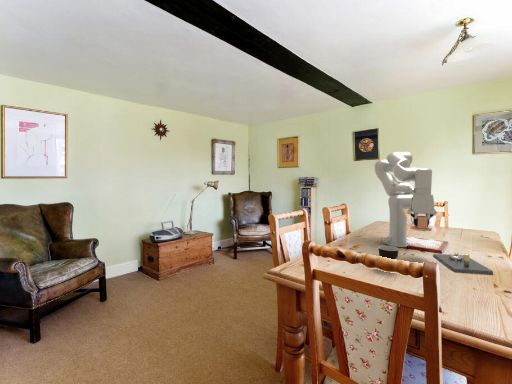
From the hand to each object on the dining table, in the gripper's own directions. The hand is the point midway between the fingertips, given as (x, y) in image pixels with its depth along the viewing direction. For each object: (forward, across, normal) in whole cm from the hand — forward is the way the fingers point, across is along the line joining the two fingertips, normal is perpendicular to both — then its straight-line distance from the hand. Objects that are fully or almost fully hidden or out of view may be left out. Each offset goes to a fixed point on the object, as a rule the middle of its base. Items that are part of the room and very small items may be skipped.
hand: (421, 225), depth 143 cm
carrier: (+17, +15, -10) cm, 24 cm away
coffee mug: (+17, -20, -22) cm, 34 cm away
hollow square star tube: (+2, 0, 0) cm, 2 cm away
